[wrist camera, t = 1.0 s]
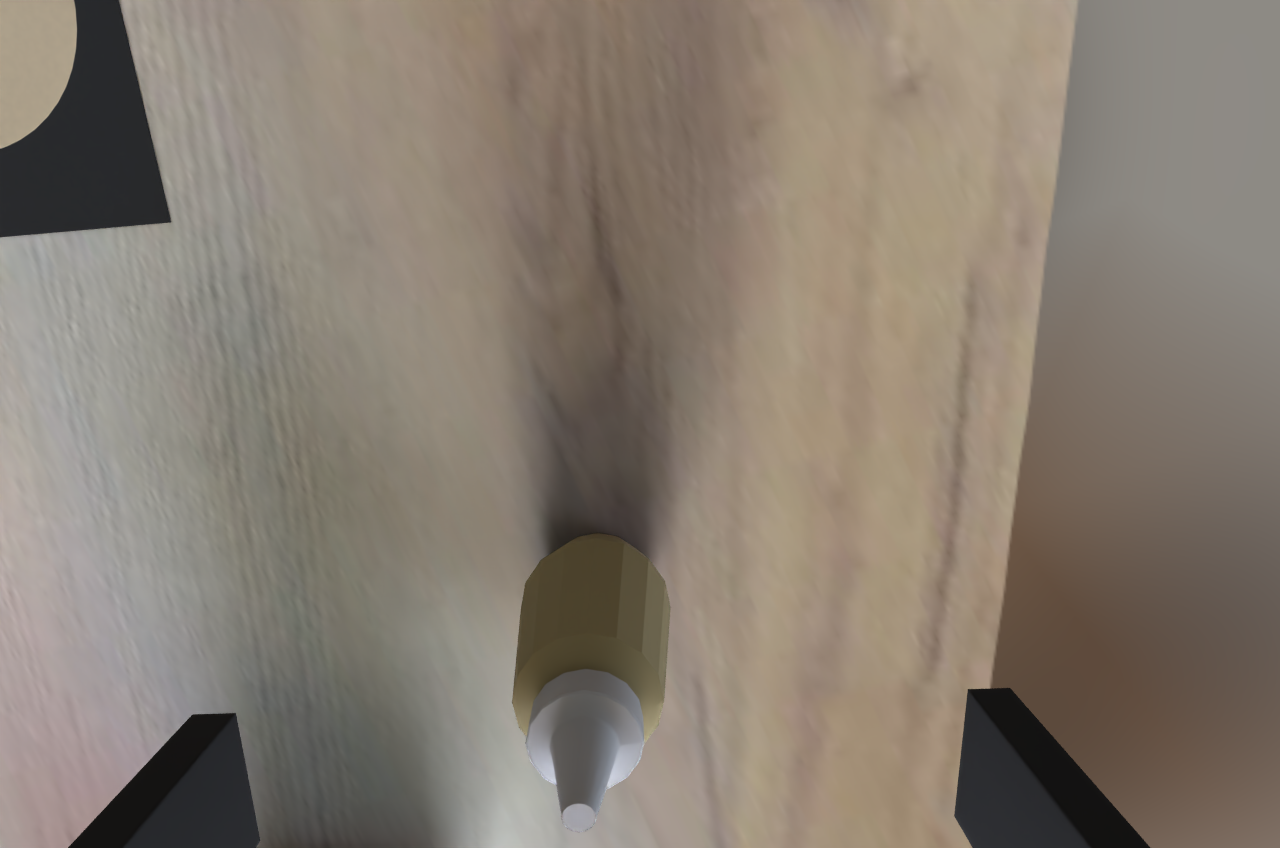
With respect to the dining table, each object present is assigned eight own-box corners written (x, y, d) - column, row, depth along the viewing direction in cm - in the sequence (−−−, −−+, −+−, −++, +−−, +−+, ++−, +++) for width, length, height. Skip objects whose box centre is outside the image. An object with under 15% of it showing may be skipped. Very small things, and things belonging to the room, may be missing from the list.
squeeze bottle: (510, 612, 41) (426, 873, 24) (558, 493, 40) (507, 681, 22) (635, 656, 42) (643, 940, 25) (687, 542, 40) (736, 760, 23)
